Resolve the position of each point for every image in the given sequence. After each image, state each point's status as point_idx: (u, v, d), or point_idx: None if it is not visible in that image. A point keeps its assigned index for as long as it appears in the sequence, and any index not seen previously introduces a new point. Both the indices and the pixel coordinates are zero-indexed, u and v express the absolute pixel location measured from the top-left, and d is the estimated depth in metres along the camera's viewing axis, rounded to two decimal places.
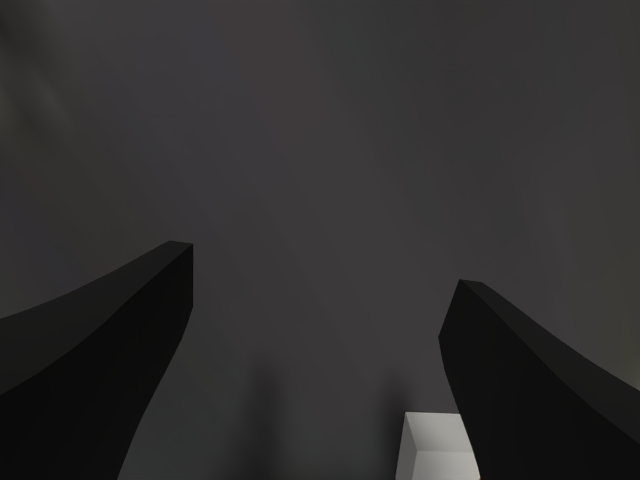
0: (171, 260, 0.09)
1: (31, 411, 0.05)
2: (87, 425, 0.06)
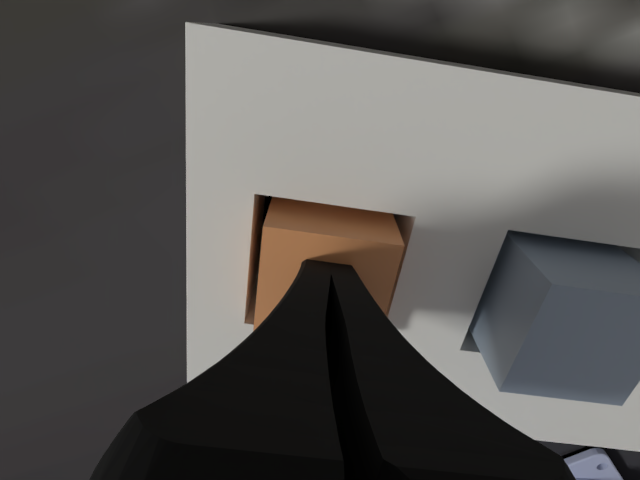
0: (328, 281, 0.09)
1: None
2: None
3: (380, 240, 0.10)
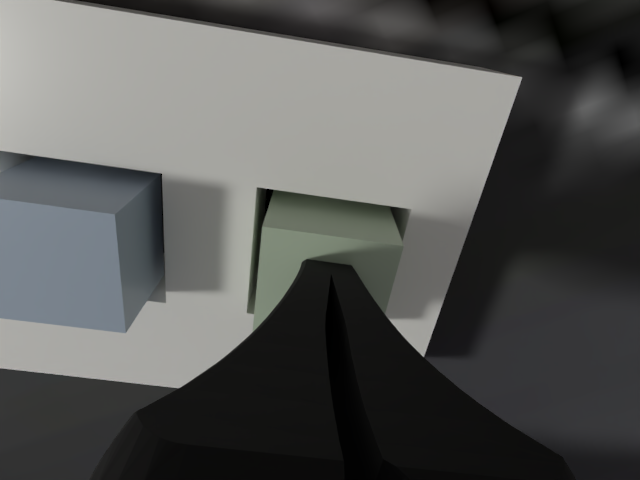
0: (329, 281, 0.09)
1: None
2: None
3: None
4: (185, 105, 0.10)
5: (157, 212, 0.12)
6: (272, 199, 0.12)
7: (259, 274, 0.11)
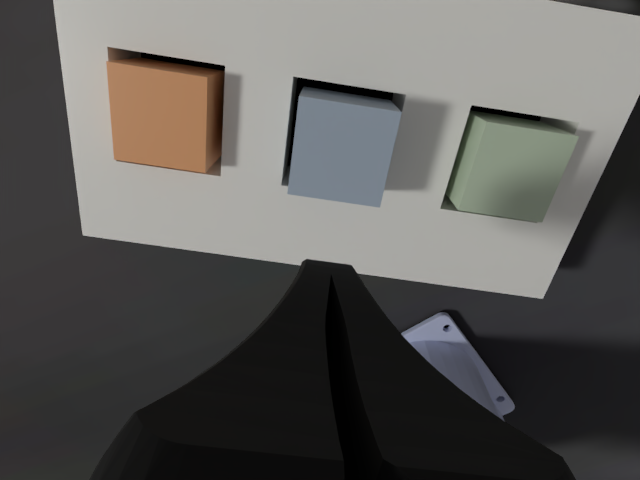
0: (328, 281, 0.09)
1: None
2: None
3: (190, 74, 0.15)
4: (436, 43, 0.15)
5: None
6: (472, 113, 0.17)
7: (476, 158, 0.16)
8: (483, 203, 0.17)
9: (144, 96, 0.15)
